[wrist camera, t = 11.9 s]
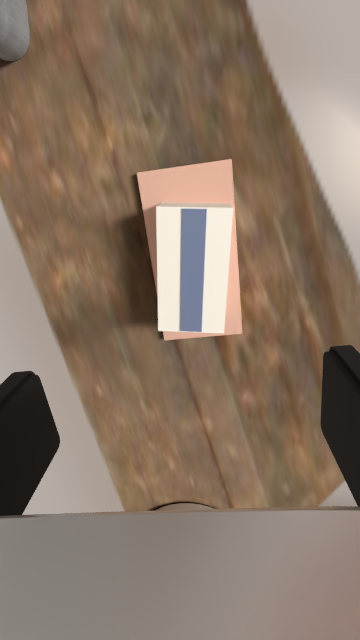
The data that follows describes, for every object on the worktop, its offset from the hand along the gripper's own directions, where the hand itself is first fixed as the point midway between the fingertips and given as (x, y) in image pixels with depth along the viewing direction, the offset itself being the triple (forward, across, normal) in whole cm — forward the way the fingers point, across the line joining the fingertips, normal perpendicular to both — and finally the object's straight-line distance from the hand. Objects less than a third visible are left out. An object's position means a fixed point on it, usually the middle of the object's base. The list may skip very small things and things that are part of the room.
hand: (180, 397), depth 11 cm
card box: (+18, 0, -1) cm, 18 cm away
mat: (+18, 0, -1) cm, 18 cm away
